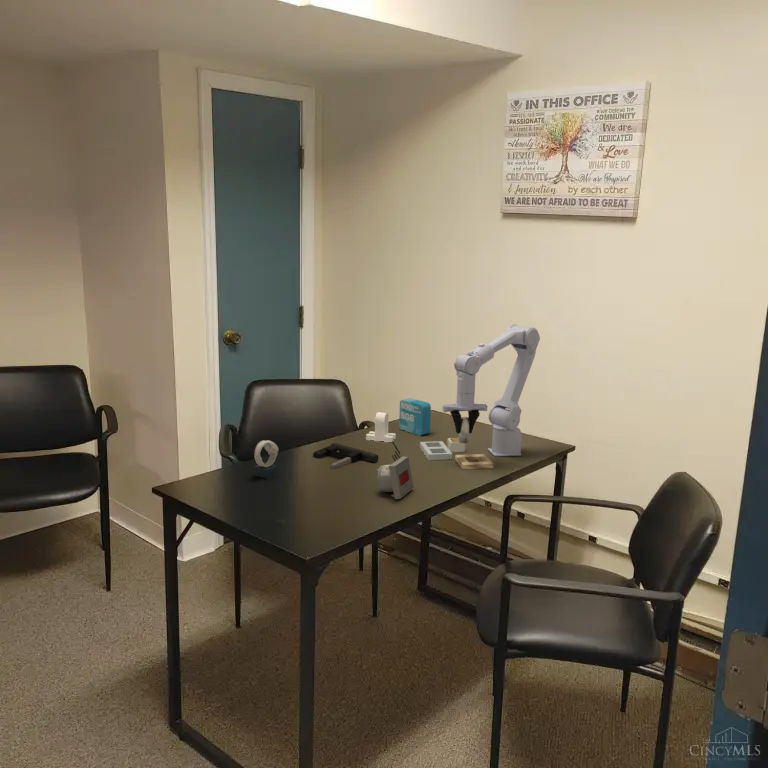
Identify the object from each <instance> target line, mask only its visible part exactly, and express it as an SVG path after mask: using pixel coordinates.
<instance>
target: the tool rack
mask: <svg viewBox="0 0 768 768" xmlns="http://www.w3.org/2000/svg"><path fill="white" fill-rule="evenodd" d="M419 448H421V449H420V450H421V451H422V453H423V452H424V453H423V454H424V455H426V456H425V457H426V458H428V459H427V460H428V461H442V460H443V461H448V460H449V459H450V460H451V459H452V460H453V452H451V451H450V450H449V449H448V448H447V445H446V444H445V443H444V441H442V440H440V441H420V442H419Z"/></svg>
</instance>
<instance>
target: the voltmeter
mask: <svg viewBox="0 0 768 768" xmlns="http://www.w3.org/2000/svg"><path fill="white" fill-rule="evenodd" d="M391 444H392V445H393V447H394V448H395V451H394V453H393V454H394V455H392V454H391V457H392V459H393V461H394V462H392V463H390V464H382V465H380V466H379V468H377V469H376V470H375V471H374V472H375V476H376V478H377V481H376V482H377V485H378V487H379V488H378V489H379V490H380V491H381V492H382V493H391V492H393V494H391V495H390V496H391V497H394V500H395V499H396V500H400V499H402V498H403V497H404V496H406V495H407V494H408V493H410V491H412V490H413V489H414V481H413V477H412V476H413V475H412V471H411V467H410V466H411V465H410V461H409V457H408V456H400V455H401V451H399V449H398V447H397V445H396V444H395V443H394V440H393V441H392V443H391Z"/></svg>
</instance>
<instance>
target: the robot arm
mask: <svg viewBox="0 0 768 768" xmlns="http://www.w3.org/2000/svg"><path fill="white" fill-rule="evenodd" d="M540 340H541V336H540V334H539V331H538V328H536V327H529V326H523V325H518V324H511V325H510V326H509V327H506V328H505V330H504V332H503V333H501V334H500V335H499V336H497V337H496V338H495V339H493V340H492V341H491V342H489V343H485V342H484V343H482V342H481V343H479V344H478V346H477V347H475V348H474V349H472V350H469V351H468V352H467V353H466V354H459V355H458V357H456V359H455V361H454V363H453V367H454V369H455V371H456V376H457V382H456V383H457V384H456V402H455V403H450V404H442V412H443V413H448V412H450V416H451V417H452V420H453V423H454V428H455V433H456V434H458V435H459V434H460V420H461V417H462V414H461V412H467V413H468V416H467V417H469V418H470V432H469V434H472V433H473V430H474V426H475V425H476V422H477V420H478V419H479V417H480V415H481V414H480V412H488V405H487V404H486V403H475V393H476V391H475V390H476V377H477V376H476V374H478V372H479V371H480V368H481V367H482V366H483V365H484V364H486V363H488V362H489V361H491V360H492V359H494V356H495V353H497V352H499V351H501V350H503V349H504V348H506V347H508V346H509V345H511V346H512V348H513V349H514V350H515V351H516V353H517V354H516V355H517V357H516V359H515V363H514V365H513V368H512V371H511V373H510V375H509V378H508V381H507V384H506V386H505V389H504V391H503V393H502V394H503V395H502V397H501V398H500V399H498V400H496V401H495V402H494V404H493V407H491V409H490V410H489V413H488V420H489V423H491V427H492V436H491V437H492V439H491V441H492V442H491V447H489V448H487V451H489V452H490V453H491V454H492V455H493V456H494V457H515V456H522V453H521V452H522V450H521V449H522V432H521V428H520V427H519V425H520V421H521V414H522V409H521V407H520V405H519V401H520V398H521V395H522V392H523V389H524V387H525V384H526V381H527V379H528V376H529V373H530V371H531V368H532V365H533V363H534V360H535V357H536V351H537V348H538V345H539V343H540Z"/></svg>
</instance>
